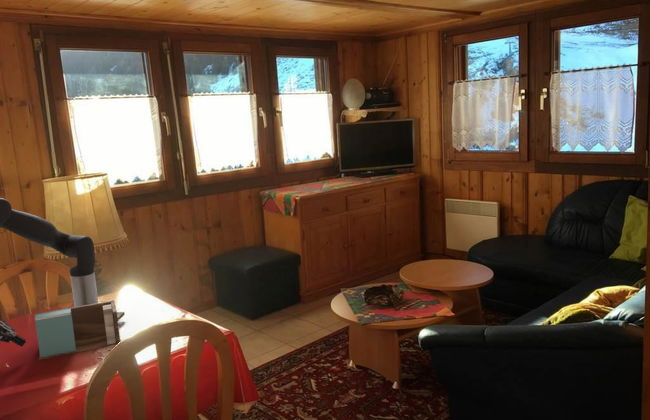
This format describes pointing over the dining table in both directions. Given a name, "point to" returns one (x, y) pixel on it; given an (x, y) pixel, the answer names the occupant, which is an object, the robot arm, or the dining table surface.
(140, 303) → the dining table surface
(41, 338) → the rectangular block
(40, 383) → the dining table surface
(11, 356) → the dining table surface
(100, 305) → the open wooden box
